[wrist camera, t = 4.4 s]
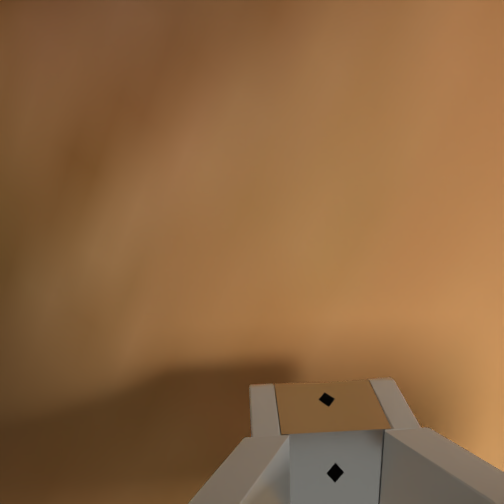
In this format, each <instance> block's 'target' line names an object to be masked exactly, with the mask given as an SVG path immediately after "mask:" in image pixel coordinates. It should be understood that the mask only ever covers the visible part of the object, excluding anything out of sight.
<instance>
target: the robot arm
mask: <svg viewBox="0 0 504 504" xmlns="http://www.w3.org/2000/svg"><path fill="white" fill-rule="evenodd" d="M249 399H250V421H251V437H245V438H243V439H242V441H241V442H240V443H239V444H238V445H237V446H236V448H235V449H234V450H233V451H232V452H231V454H230V455H229V456H228V457H227V458H226V459H225V461H224V462H223V463H222V464H221V465H220V466H219V468H218V469H217V470H216V471H215V472H214V473H213V475H212V476H211V477H210V478H209V479H208V481H207V482H206V483H205V484H204V485H203V486H202V488H201V489H200V490H199V491H198V492H197V493H196V495H195V496H194V497H193V498H192V499H191V501H190V502H189V503H188V504H504V472H503V471H501V470H499V469H498V468H496V467H494V466H492V465H491V464H489V463H487V462H486V461H484V460H482V459H481V458H479V457H477V456H476V455H474V454H472V453H471V452H469V451H467V450H465V449H464V448H462V447H460V446H459V445H457V444H455V443H454V442H452V441H450V440H449V439H447V438H445V437H444V436H442V435H440V434H439V433H437V432H435V431H433V430H432V429H430V428H421V427H420V425H419V423H418V421H417V420H416V418H415V416H414V414H413V413H412V411H411V409H410V407H409V405H408V404H407V402H406V400H405V398H404V397H403V395H402V393H401V391H400V390H399V388H398V386H397V384H396V383H395V381H394V379H392V378H391V377H383V378H372V379H366V380H351V381H336V382H303V383H274V385H273V384H272V383H270V384H251V385H250V386H249Z"/></svg>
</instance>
